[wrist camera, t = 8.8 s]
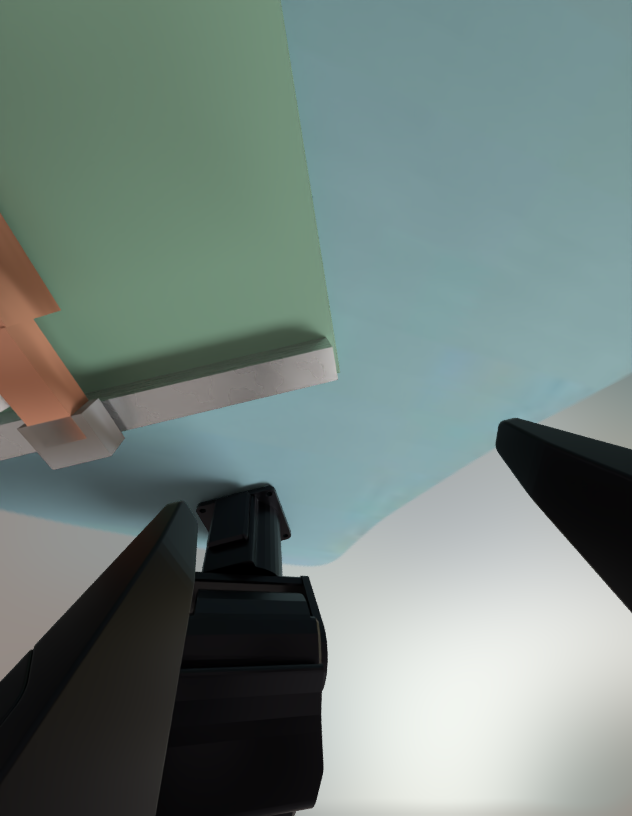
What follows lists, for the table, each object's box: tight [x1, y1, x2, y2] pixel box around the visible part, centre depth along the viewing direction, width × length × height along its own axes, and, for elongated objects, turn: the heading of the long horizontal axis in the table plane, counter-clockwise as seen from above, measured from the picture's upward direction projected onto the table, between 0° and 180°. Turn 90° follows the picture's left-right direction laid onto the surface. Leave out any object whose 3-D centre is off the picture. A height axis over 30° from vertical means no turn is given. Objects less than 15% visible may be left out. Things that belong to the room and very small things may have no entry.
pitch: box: [0, 0, 340, 413], centre depth 14 cm, size 18×22×1 cm
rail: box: [0, 337, 338, 460], centre depth 17 cm, size 2×21×2 cm, turn 103°
